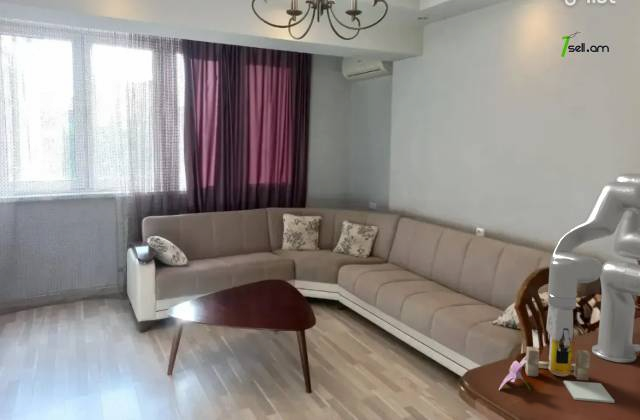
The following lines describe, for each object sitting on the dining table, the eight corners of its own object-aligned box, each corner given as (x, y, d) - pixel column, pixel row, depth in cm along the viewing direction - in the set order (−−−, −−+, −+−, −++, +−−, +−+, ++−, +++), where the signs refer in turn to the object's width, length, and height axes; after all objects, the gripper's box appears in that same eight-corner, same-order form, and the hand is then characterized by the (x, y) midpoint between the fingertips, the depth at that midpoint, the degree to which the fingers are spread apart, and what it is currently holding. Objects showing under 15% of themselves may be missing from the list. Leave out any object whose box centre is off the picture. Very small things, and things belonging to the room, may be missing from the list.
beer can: (573, 377, 147) (576, 329, 145) (551, 376, 148) (553, 328, 146) (567, 368, 153) (570, 321, 151) (546, 366, 154) (548, 320, 152)
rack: (579, 368, 155) (581, 344, 154) (588, 380, 148) (590, 354, 147) (521, 364, 158) (523, 340, 157) (527, 375, 151) (528, 350, 150)
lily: (517, 378, 151) (502, 350, 151) (552, 378, 142) (536, 348, 142) (498, 403, 144) (482, 374, 144) (533, 404, 135) (516, 373, 135)
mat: (600, 385, 145) (600, 383, 145) (614, 402, 135) (614, 400, 135) (563, 382, 147) (563, 380, 147) (574, 399, 137) (574, 397, 137)
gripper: (540, 291, 157) (538, 345, 159) (556, 310, 140) (553, 370, 143) (566, 291, 155) (563, 347, 158) (585, 311, 139) (581, 372, 141)
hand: (558, 357), depth 150 cm, fingers closed on beer can, 5 cm apart
